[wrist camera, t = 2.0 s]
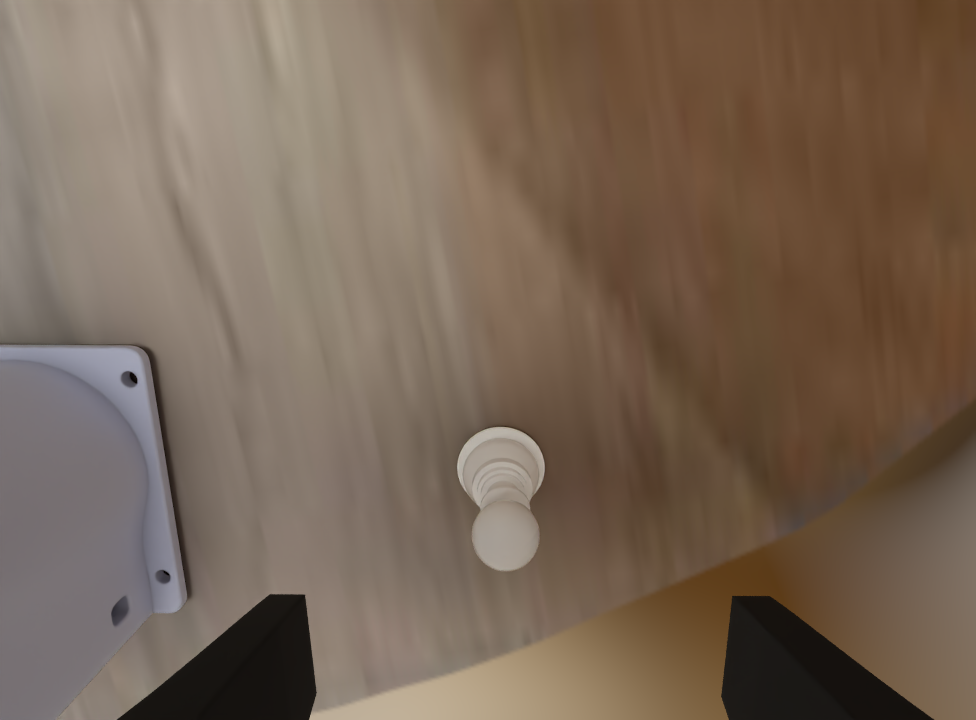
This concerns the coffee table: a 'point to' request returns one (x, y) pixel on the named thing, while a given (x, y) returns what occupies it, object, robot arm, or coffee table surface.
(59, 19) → the coffee table surface
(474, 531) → the chess pawn
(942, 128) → the coffee table surface
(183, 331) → the coffee table surface
